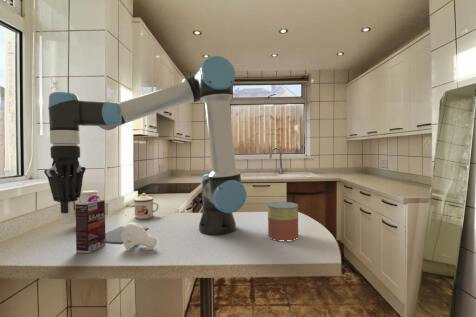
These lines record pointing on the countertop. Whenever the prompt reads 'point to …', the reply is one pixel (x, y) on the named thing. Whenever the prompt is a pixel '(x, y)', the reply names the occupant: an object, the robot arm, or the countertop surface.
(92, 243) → the supplement box
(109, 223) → the countertop surface
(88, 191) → the supplement can
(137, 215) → the teacup with lid
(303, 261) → the countertop surface
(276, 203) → the canned food
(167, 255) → the countertop surface
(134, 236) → the white irregular piece
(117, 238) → the mat
